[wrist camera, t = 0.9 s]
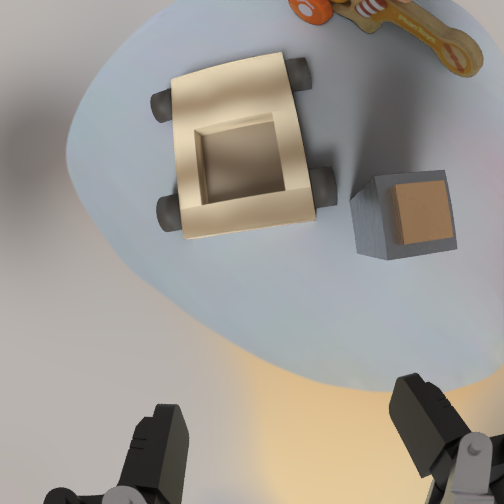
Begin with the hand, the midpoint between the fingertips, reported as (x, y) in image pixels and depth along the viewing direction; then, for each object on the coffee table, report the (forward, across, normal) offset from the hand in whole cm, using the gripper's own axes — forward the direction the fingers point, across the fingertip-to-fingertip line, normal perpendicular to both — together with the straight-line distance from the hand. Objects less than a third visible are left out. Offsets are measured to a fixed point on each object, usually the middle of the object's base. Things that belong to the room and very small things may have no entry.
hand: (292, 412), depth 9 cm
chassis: (+20, +1, -10) cm, 23 cm away
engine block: (+16, -10, -3) cm, 19 cm away
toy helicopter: (+21, -14, -23) cm, 34 cm away
